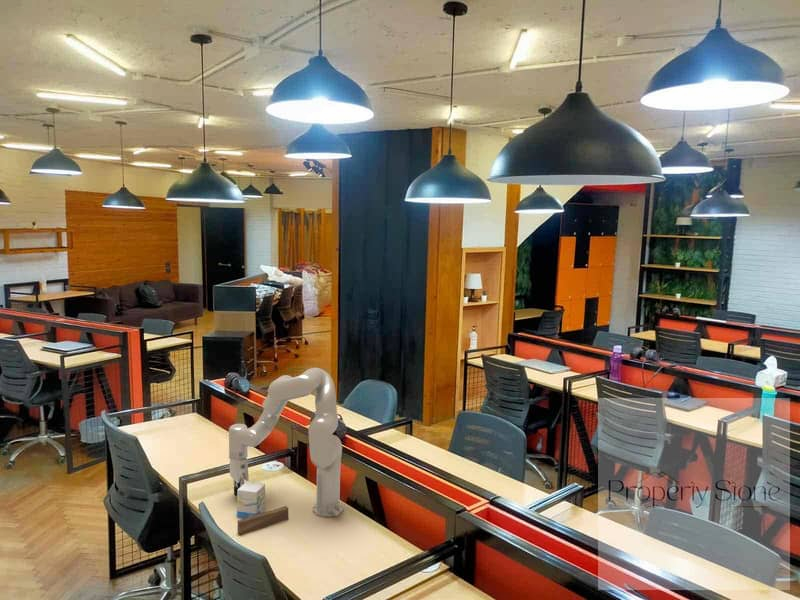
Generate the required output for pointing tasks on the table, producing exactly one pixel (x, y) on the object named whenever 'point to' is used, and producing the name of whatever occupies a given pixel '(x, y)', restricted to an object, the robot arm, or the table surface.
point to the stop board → (262, 520)
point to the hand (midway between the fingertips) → (238, 494)
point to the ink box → (250, 499)
